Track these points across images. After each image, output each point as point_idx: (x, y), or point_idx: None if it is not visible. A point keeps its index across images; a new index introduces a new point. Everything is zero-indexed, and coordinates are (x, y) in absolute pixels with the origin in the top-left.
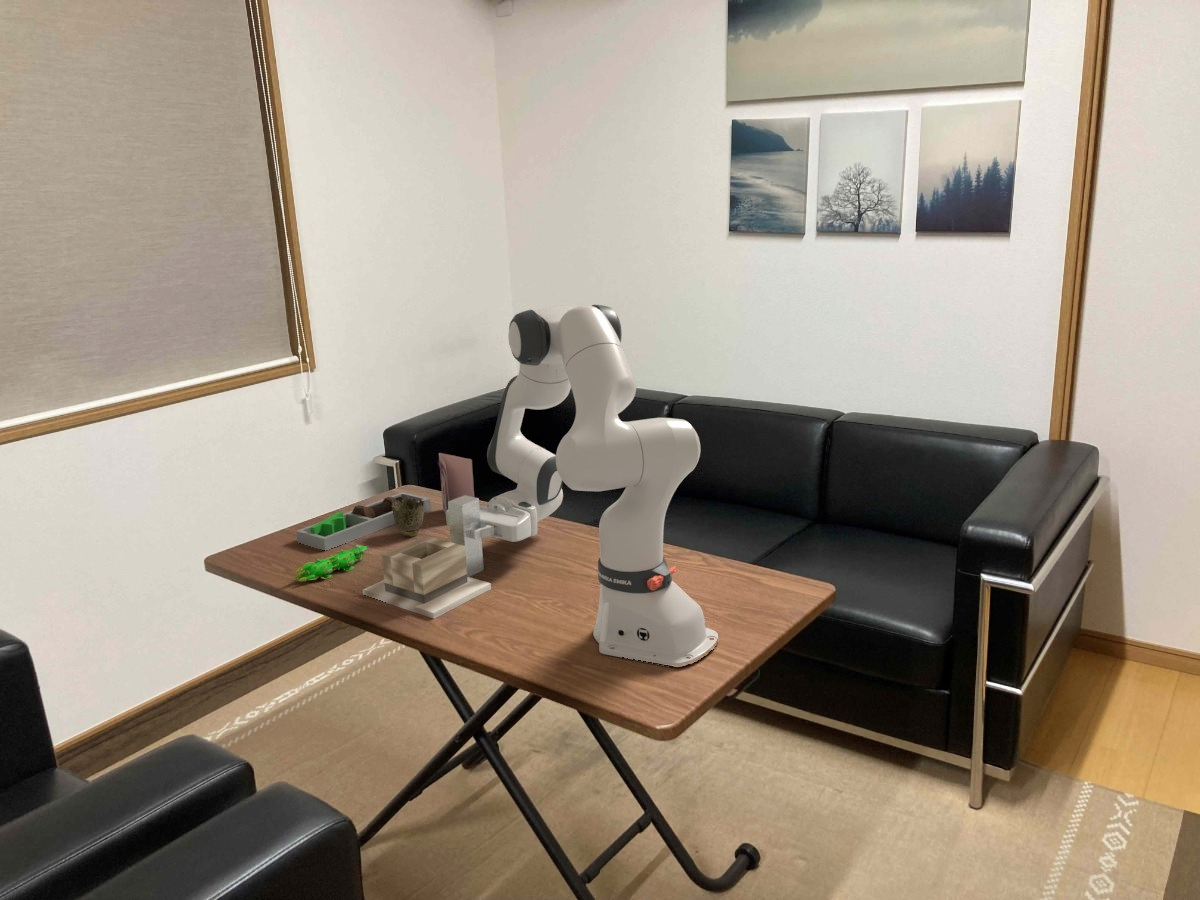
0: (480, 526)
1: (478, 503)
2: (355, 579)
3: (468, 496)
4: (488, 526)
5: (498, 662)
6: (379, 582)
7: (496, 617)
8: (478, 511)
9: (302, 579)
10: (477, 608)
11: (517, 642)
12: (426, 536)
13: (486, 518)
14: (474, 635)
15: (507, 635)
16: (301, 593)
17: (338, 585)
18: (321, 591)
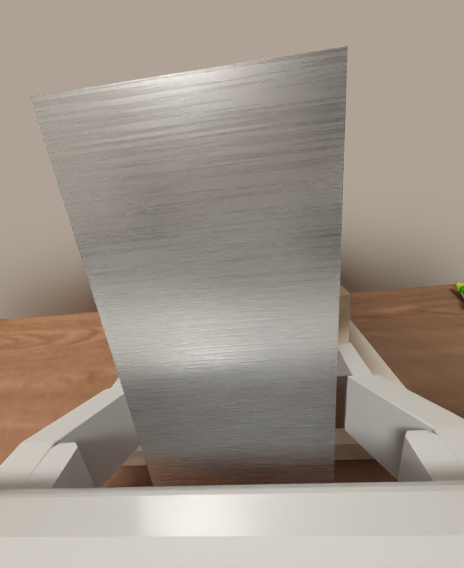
0: (140, 439)
1: (65, 184)
2: (442, 335)
3: (239, 71)
4: (38, 449)
5: (37, 319)
6: (354, 327)
7: (50, 373)
8: (103, 287)
9: (457, 284)
10: (101, 377)
11: (6, 347)
12: (341, 293)
13: (67, 546)
14: (82, 333)
15: (24, 350)
16: (415, 289)
17: (422, 315)
18: (406, 300)
